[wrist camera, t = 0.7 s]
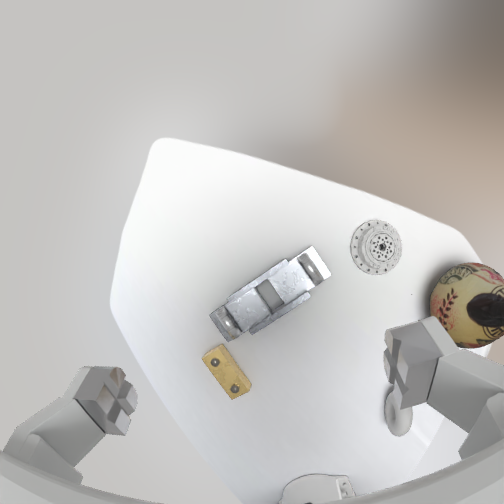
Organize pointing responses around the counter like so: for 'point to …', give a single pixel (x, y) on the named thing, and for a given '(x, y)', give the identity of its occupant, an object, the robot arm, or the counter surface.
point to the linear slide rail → (286, 285)
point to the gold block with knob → (226, 372)
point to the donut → (397, 416)
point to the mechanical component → (376, 247)
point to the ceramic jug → (470, 304)
